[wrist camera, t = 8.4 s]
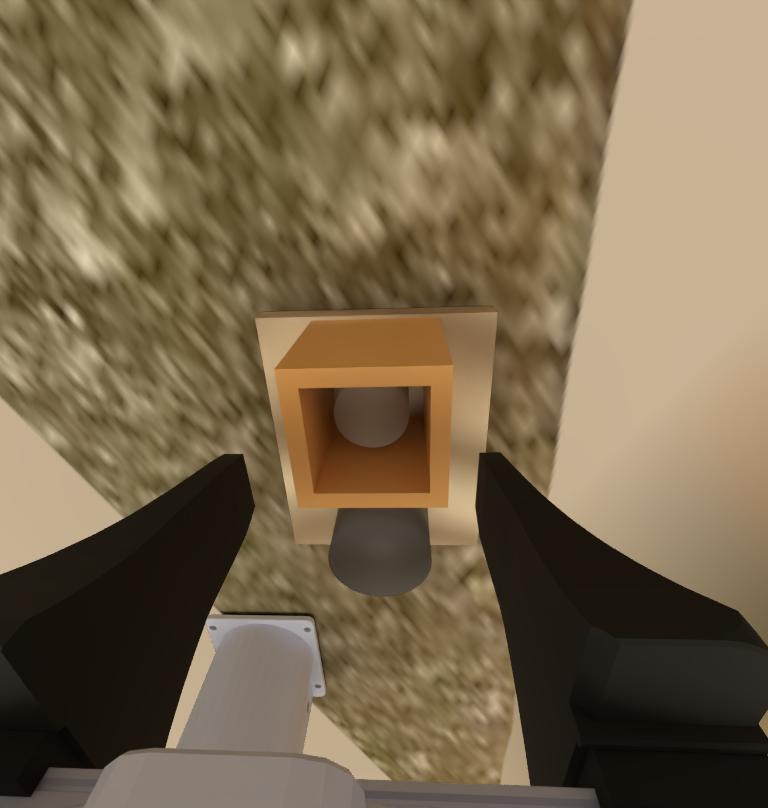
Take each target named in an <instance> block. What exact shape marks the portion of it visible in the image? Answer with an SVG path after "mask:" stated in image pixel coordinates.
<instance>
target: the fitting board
mask: <svg viewBox="0 0 768 808" xmlns="http://www.w3.org/2000/svg"><path fill="white" fill-rule="evenodd" d="M414 317H439V318H440V322H441V325H442V329H443V332H444V335H445V339H446V342H447V345H448V349H449V352H450V356H451V359H452V362H453V388H452V415H451V443H450V470H449V498H448V508H298V504H297V498H296V492H295V487H294V481H293V475H292V469H291V463H290V458H289V452H288V446H287V440H286V435H285V429H284V423H283V417H282V412H281V406H280V400H279V394H278V389H277V383H276V377H275V371H274V369H275V368H276V366H277V365H278V364H279V362H280V361H281V360H282V358H283V357H284V356H285V355H286V353H287V352H288V351H289V349H290V348H291V347H292V345H293V344H294V343H295V341H296V340H297V339H298V338H299V336H300V335H301V334H302V332H303V331H304V330H305V328H306V327H307V326H308V324H309V323H310V322H311V321H313V320H347V319H381V318H414ZM497 317H498V312H497V311H496V309H495V308H494V307H493V306H469V307H431V308H392V309H354V310H316V311H277V312H262V313H261V314H260V315H259V316H257V317H256V318H255V321H256V326H257V332H258V338H259V343H260V349H261V354H262V360H263V365H264V371H265V376H266V382H267V388H268V393H269V399H270V404H271V410H272V415H273V421H274V426H275V432H276V438H277V443H278V449H279V454H280V460H281V465H282V471H283V476H284V482H285V488H286V493H287V499H288V504H289V510H290V515H291V521H292V526H293V532H294V538H295V543H296V544H330V549H329V555H328V558H329V565H330V568H331V570H332V572H333V573H334V575H335V576H336V577H337V579H338V580H339V581H340V582H342V583H343V584H344V585H345V586H347V587H349V588H350V589H352V590H354V591H357V592H359V593H362V594H366V595H371V596H394V595H399V594H403V593H406V592H408V591H410V590H412V589H414V588H416V587H417V586H418V585H420V584H421V583H422V582H423V581H424V580H425V578H426V577H427V575H428V573H429V571H430V568H431V562H432V561H431V547H430V545H477V543H478V532H479V529H478V523H477V516H476V509H475V501H476V489H477V476H478V464H479V453H485V452H486V441H487V430H488V418H489V407H490V396H491V385H492V373H493V362H494V351H495V339H496V328H497ZM334 394H335V407H334V419H335V423H336V426H337V428H338V429H339V431H340V432H341V433H342V435H343V436H344V437H345V438H347V439H348V440H349V441H351V442H353V443H354V444H357V445H359V446H363V447H369V448H377V447H383V446H386V445H389V444H391V443H393V442H395V441H396V440H397V439H399V438H400V437H401V436H402V434H403V433H404V432H405V430H406V428H407V425H408V422H409V417H423V386H397V387H346V388H334Z"/></svg>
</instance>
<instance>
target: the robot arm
mask: <svg viewBox="0 0 768 808" xmlns="http://www.w3.org/2000/svg"><path fill="white" fill-rule="evenodd" d="M254 508H255V504H254V500H253V496H252V491H251V487H250V482H249V478H248V474H247V469H246V465H245V460H244V456H243V454H223V455H222V456H220V457H218V458H217V459H215V460H213V461H212V462H210V463H209V464H207V465H206V466H204V467H203V468H201V469H200V470H199V471H197V472H196V473H194V474H193V475H191V476H190V477H188V478H187V479H185V480H184V481H182V482H181V483H180V484H178V485H177V486H175V487H174V488H172V489H171V490H169V491H168V492H166V493H165V494H163V495H161V496H160V497H158V498H157V499H155V500H153V501H152V502H150V503H149V504H147V505H146V506H144V507H142V508H141V509H139V510H138V511H136V512H134V513H133V514H131V515H129V516H127V517H126V518H124V519H122V520H120V521H119V522H117V523H115V524H113V525H111V526H109V527H107V528H105V529H104V530H102V531H100V532H98V533H96V534H94V535H92V536H90V537H88V538H86V539H83V540H81V541H79V542H77V543H75V544H73V545H70V546H68V547H66V548H64V549H62V550H60V551H58V552H55V553H54V554H51V555H49V556H46V557H44V558H41V559H39V560H37V561H34V562H32V563H29V564H27V565H24V566H22V567H19V568H16V569H14V570H11V571H9V572H6V573H3V574H1V575H0V808H768V755H767V754H768V738H767V736H766V735H765V733H764V732H763V730H762V729H761V727H760V726H759V724H758V723H759V722H760V720H761V719H762V717H763V716H764V714H765V713H766V711H767V710H768V646H767V645H766V644H765V643H764V641H763V640H762V639H761V637H760V636H759V635H758V634H757V633H756V631H755V630H754V629H753V628H752V627H751V625H750V624H749V623H748V622H747V621H746V619H745V618H744V617H743V616H742V615H741V614H740V613H739V612H738V611H737V610H735V609H732V608H730V607H728V606H725V605H723V604H721V603H719V602H717V601H714V600H712V599H710V598H708V597H705V596H703V595H701V594H699V593H696V592H694V591H692V590H689V589H687V588H685V587H683V586H681V585H679V584H677V583H675V582H673V581H671V580H669V579H667V578H665V577H663V576H662V575H660V574H658V573H656V572H654V571H652V570H650V569H648V568H646V567H645V566H643V565H641V564H639V563H637V562H635V561H634V560H632V559H630V558H629V557H627V556H626V555H624V554H622V553H620V552H619V551H617V550H616V549H614V548H612V547H610V546H609V545H608V544H606V543H604V542H603V541H601V540H600V539H598V538H597V537H595V536H594V535H593V534H591V533H590V532H588V531H587V530H586V529H584V528H583V527H581V526H580V525H579V524H577V523H576V522H575V521H573V520H572V519H571V518H569V517H568V516H567V515H566V514H564V513H563V512H562V511H561V510H560V509H558V508H557V507H556V506H555V505H554V504H552V503H551V502H550V501H549V500H548V499H547V498H546V497H544V496H543V495H542V494H541V493H540V492H539V491H538V490H537V489H536V488H535V487H534V486H533V485H532V484H531V483H530V482H529V481H528V480H527V479H526V478H525V477H524V476H523V475H522V474H521V473H520V472H519V471H518V470H517V469H516V468H515V467H514V466H513V465H512V464H511V463H510V462H509V461H508V460H507V459H506V458H505V457H504V456H503V455H502V454H501V453H500V452H493V453H479V464H478V476H477V489H476V501H475V509H476V516H477V523H478V529H479V535H480V539H481V543H482V547H483V550H484V554H485V557H486V561H487V564H488V568H489V571H490V574H491V578H492V581H493V585H494V588H495V592H496V595H497V599H498V602H499V605H500V610H501V614H502V618H503V622H504V627H505V633H506V638H507V643H508V649H509V654H510V660H511V665H512V671H513V677H514V683H515V689H516V694H517V700H518V706H519V713H520V719H521V726H522V732H523V738H524V744H525V751H526V758H527V765H528V772H529V779H530V785H531V786H519V785H493V784H467V783H441V782H416V781H390V780H364V779H355V778H354V776H353V775H352V773H351V772H350V771H349V769H347V768H345V767H343V766H340V765H339V764H337V763H335V762H332V761H330V760H329V759H327V758H323V757H317V756H311V755H305V754H302V753H303V748H304V742H305V737H306V732H307V726H308V721H309V715H310V709H311V704H312V699H313V697H322V696H324V695H325V693H326V686H325V680H324V674H323V668H322V662H321V656H320V651H319V645H318V639H317V633H316V627H315V622H314V619H313V618H312V617H310V616H271V615H209V613H210V610H211V608H212V606H213V603H214V601H215V599H216V597H217V595H218V593H219V591H220V589H221V587H222V584H223V582H224V580H225V578H226V576H227V574H228V572H229V570H230V568H231V566H232V564H233V562H234V560H235V557H236V555H237V553H238V551H239V549H240V547H241V545H242V543H243V540H244V538H245V536H246V533H247V530H248V527H249V524H250V521H251V518H252V514H253V511H254ZM208 615H209V616H208ZM205 623H206V626H207V629H208V632H209V635H210V637H211V640H212V643H213V646H214V649H215V652H216V654H215V656H214V658H213V661H212V663H211V666H210V668H209V671H208V673H207V675H206V678H205V680H204V682H203V685H202V687H201V690H200V692H199V694H198V697H197V699H196V702H195V704H194V707H193V709H192V712H191V714H190V716H189V719H188V721H187V724H186V726H185V728H184V731H183V733H182V735H181V738H180V740H179V743H178V745H177V748H176V749H172V748H171V749H170V748H165V747H166V743H167V739H168V735H169V732H170V729H171V725H172V722H173V719H174V715H175V712H176V709H177V705H178V702H179V699H180V695H181V693H182V689H183V686H184V683H185V680H186V677H187V674H188V671H189V668H190V665H191V662H192V659H193V656H194V653H195V650H196V647H197V645H198V642H199V639H200V636H201V633H202V631H203V628H204V625H205Z"/></svg>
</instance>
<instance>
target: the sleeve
mask: <svg viewBox="0 0 768 808" xmlns="http://www.w3.org/2000/svg"><path fill="white" fill-rule="evenodd" d="M274 371H275V377H276V383H277V389H278V394H279V400H280V406H281V412H282V417H283V423H284V429H285V435H286V440H287V446H288V452H289V458H290V463H291V469H292V475H293V481H294V487H295V492H296V498H297V504H298V508H448V498H449V470H450V443H451V415H452V388H453V362H452V359H451V356H450V352H449V349H448V345H447V342H446V339H445V335H444V332H443V329H442V325H441V322H440V318H439V317H414V318H381V319H347V320H313V321H311V322H310V323H309V324H308V326H307V327H306V328H305V330H304V331H303V332H302V334H301V335H300V336H299V338H298V339H297V340H296V341H295V343H294V344H293V345H292V347H291V348H290V349H289V351H288V352H287V353H286V355H285V356H284V357H283V358H282V360H281V361H280V362H279V364H278V365H277V366H276V368H275V369H274ZM397 386H423V417H409V422H408V425H407V428H406V430H405V432H404V433H403V434H402V436H401V437H400V438H399V439H397V440H396V441H395V442H393V443H391V444H389V445H386V446H383V447H377V448H369V447H363V446H359V445H357V444H354V443H353V442H351V441H349V440H348V439H347V438H345V437H344V436H343V435H342V433H341V432H340V431H339V429H338V428H337V426H336V423H335V419H334V407H335V394H334V388H346V387H397Z"/></svg>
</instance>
